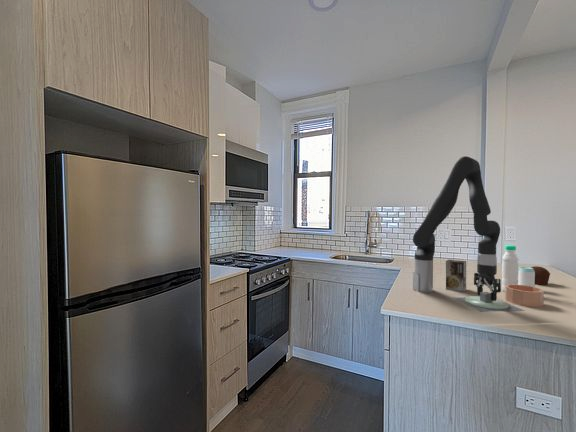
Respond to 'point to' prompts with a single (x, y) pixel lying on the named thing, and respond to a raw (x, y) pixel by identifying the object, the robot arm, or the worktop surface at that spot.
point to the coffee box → (456, 275)
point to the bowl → (524, 295)
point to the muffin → (541, 275)
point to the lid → (486, 302)
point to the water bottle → (509, 267)
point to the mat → (511, 308)
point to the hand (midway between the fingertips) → (486, 297)
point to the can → (526, 276)
